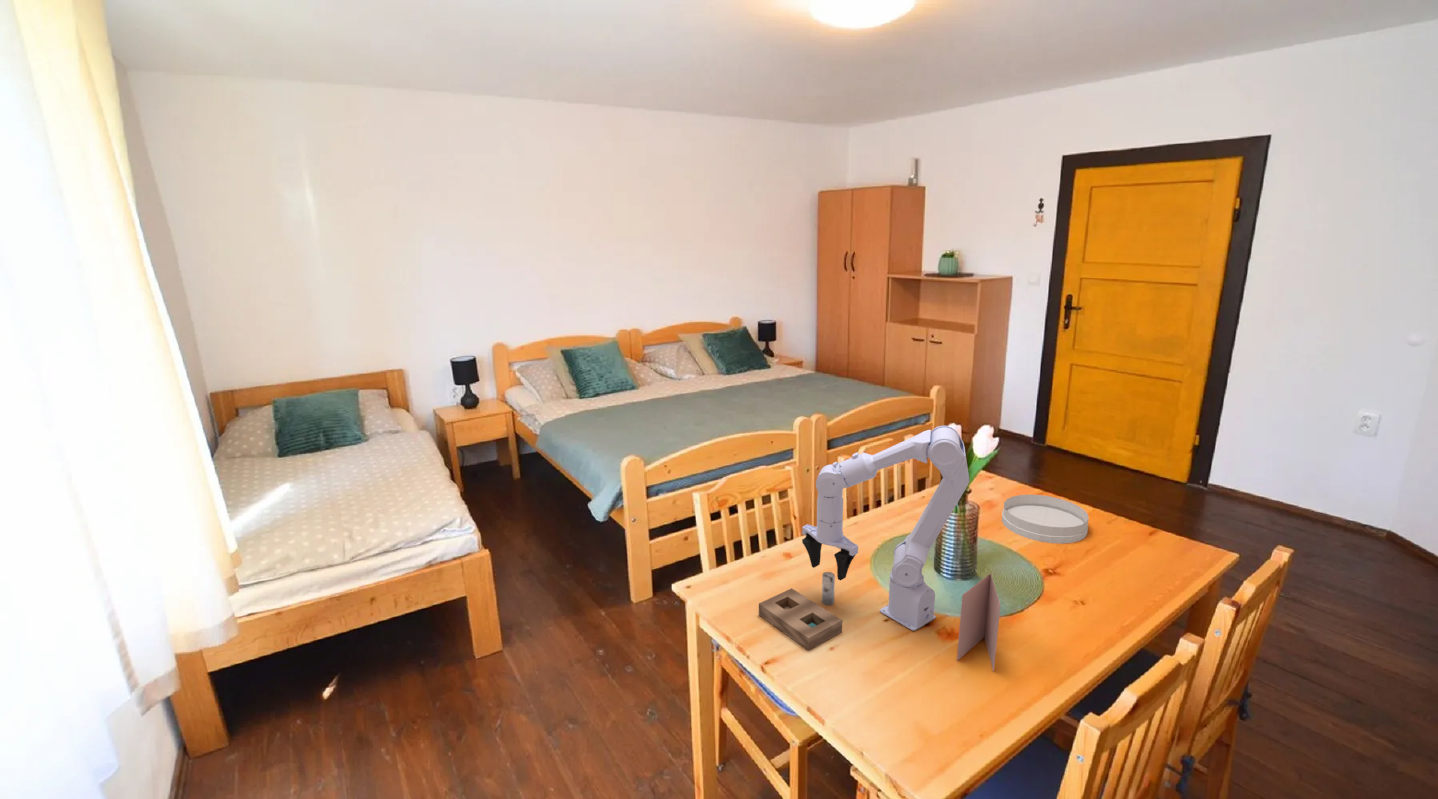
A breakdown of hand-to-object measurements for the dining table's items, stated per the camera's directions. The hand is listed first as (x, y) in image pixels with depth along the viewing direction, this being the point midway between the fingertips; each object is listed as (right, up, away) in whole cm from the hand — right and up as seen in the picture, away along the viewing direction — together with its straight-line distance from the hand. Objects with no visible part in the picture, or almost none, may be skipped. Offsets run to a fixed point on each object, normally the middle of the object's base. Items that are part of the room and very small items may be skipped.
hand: (828, 572), depth 148 cm
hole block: (-7, -10, -6) cm, 14 cm away
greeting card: (+29, -12, -17) cm, 36 cm away
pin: (0, -8, +2) cm, 8 cm away
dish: (+68, +3, +37) cm, 77 cm away
